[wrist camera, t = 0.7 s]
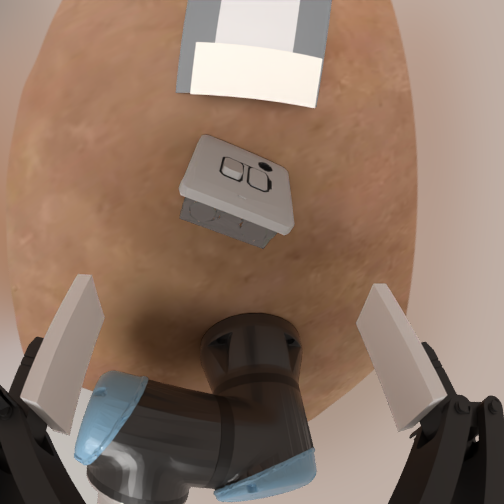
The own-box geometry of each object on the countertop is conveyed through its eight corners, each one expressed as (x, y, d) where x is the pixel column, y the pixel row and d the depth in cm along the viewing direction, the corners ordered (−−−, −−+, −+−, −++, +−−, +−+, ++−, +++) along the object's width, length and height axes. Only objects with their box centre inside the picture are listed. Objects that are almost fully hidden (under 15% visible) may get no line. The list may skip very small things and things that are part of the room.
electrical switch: (288, 168, 29) (307, 212, 21) (265, 208, 32) (274, 262, 24) (202, 131, 26) (187, 162, 19) (183, 176, 29) (165, 222, 21)
